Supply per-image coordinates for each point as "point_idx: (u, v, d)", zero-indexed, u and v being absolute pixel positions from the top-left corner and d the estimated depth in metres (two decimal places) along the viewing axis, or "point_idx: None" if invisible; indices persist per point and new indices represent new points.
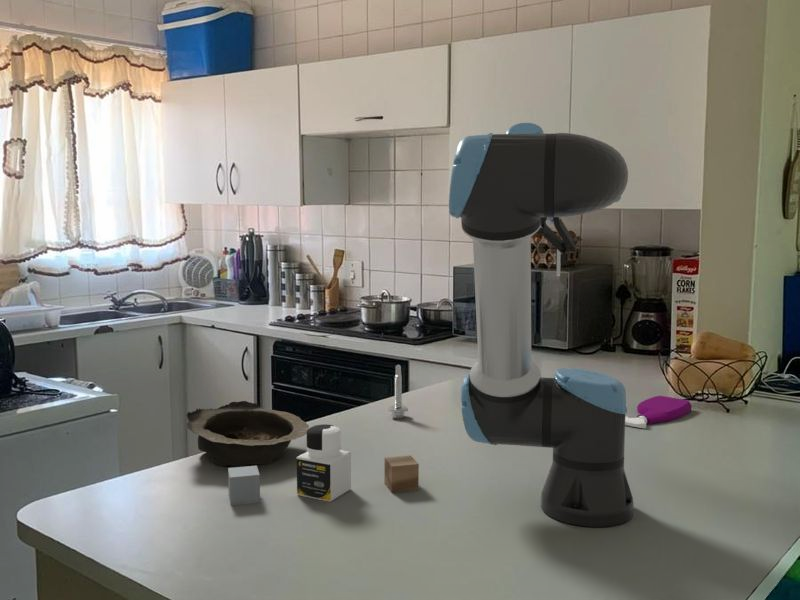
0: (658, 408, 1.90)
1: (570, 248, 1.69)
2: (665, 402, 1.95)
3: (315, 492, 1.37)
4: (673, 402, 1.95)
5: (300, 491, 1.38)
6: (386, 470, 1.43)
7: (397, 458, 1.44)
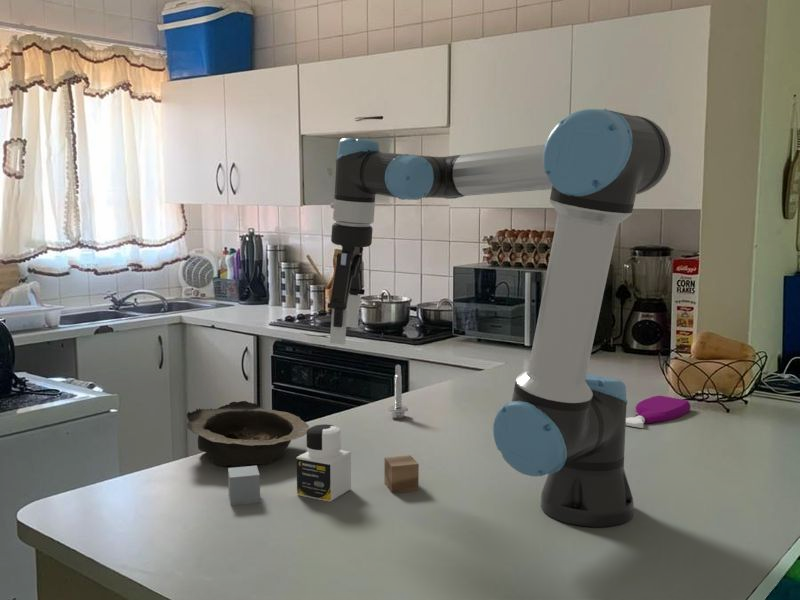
0: (656, 408, 1.90)
1: (362, 286, 1.56)
2: (664, 402, 1.95)
3: (315, 492, 1.37)
4: (671, 402, 1.95)
5: (300, 491, 1.38)
6: (386, 470, 1.43)
7: (397, 458, 1.44)
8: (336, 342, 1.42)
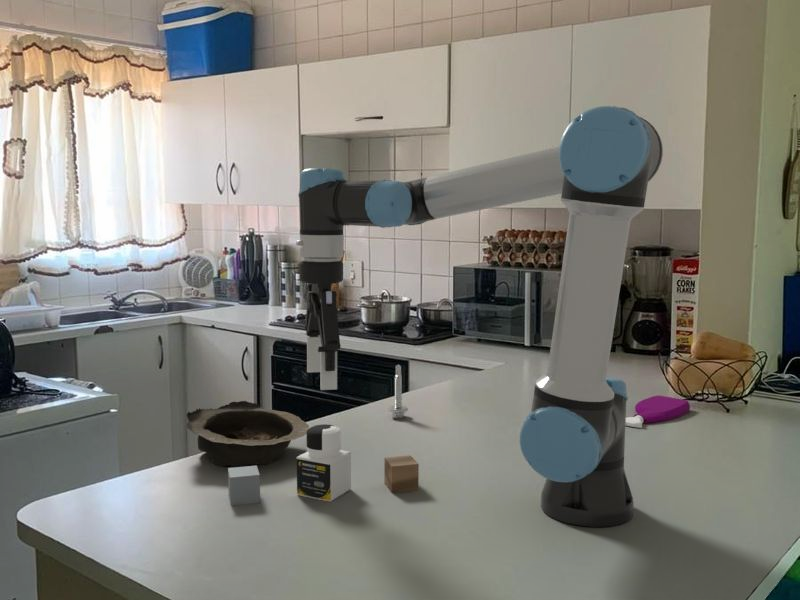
0: (655, 408, 1.90)
1: None
2: (663, 401, 1.95)
3: (315, 492, 1.37)
4: (671, 401, 1.95)
5: (300, 491, 1.38)
6: (386, 470, 1.43)
7: (397, 458, 1.44)
8: (328, 388, 1.31)
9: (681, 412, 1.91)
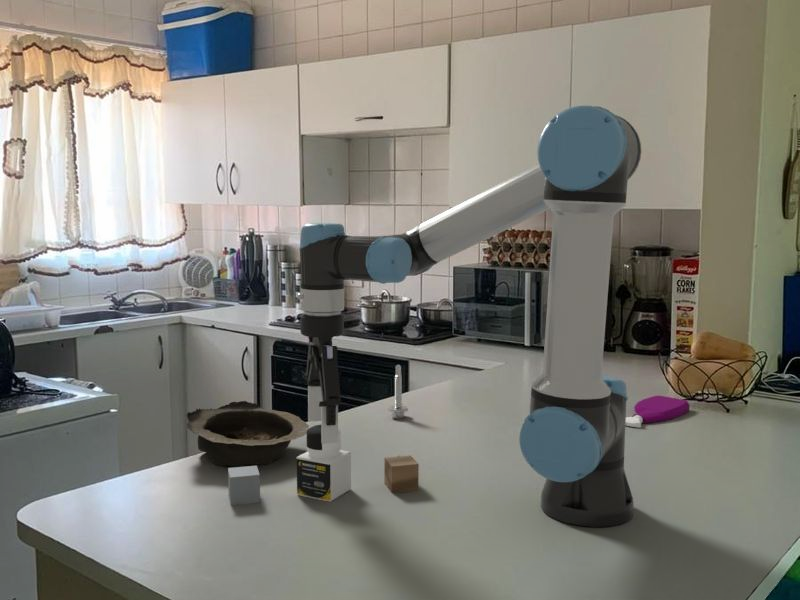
0: (655, 408, 1.90)
1: None
2: (663, 402, 1.95)
3: (315, 492, 1.37)
4: (670, 401, 1.95)
5: (300, 491, 1.38)
6: (386, 470, 1.43)
7: (397, 458, 1.44)
8: (329, 441, 1.32)
9: (680, 412, 1.91)
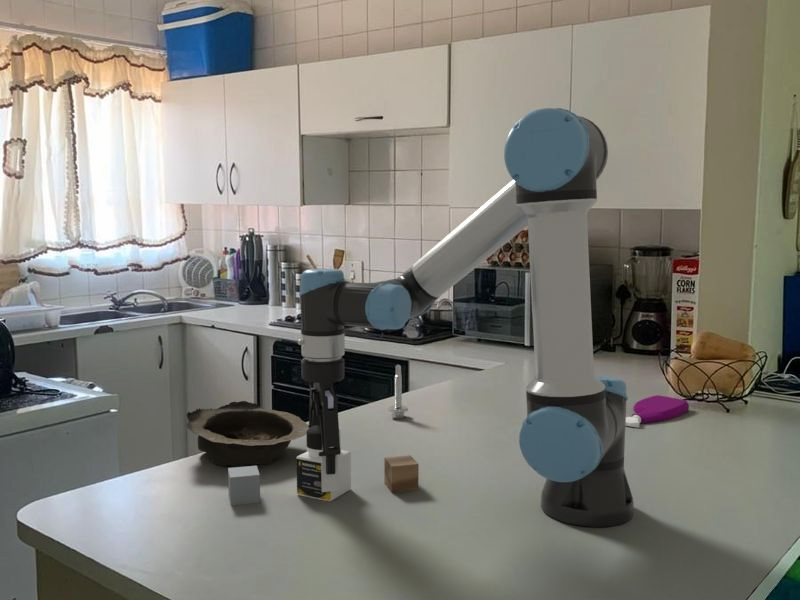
0: (654, 408, 1.90)
1: None
2: (662, 401, 1.95)
3: (315, 491, 1.37)
4: (670, 401, 1.95)
5: (300, 491, 1.38)
6: (386, 470, 1.43)
7: (397, 458, 1.44)
8: (329, 490, 1.34)
9: (679, 412, 1.91)
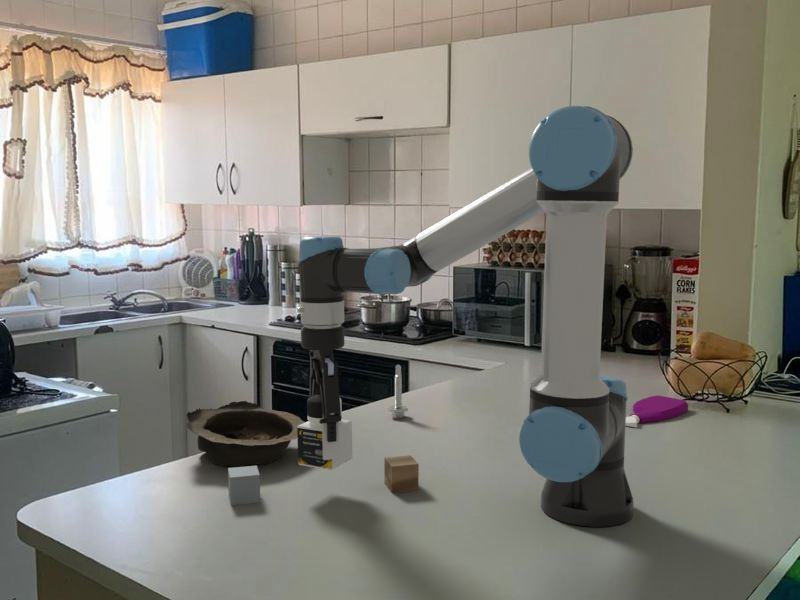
0: (652, 408, 1.90)
1: None
2: (661, 401, 1.95)
3: (316, 460, 1.36)
4: (669, 401, 1.95)
5: (301, 460, 1.37)
6: (386, 470, 1.43)
7: (397, 458, 1.44)
8: (330, 458, 1.34)
9: (678, 412, 1.91)
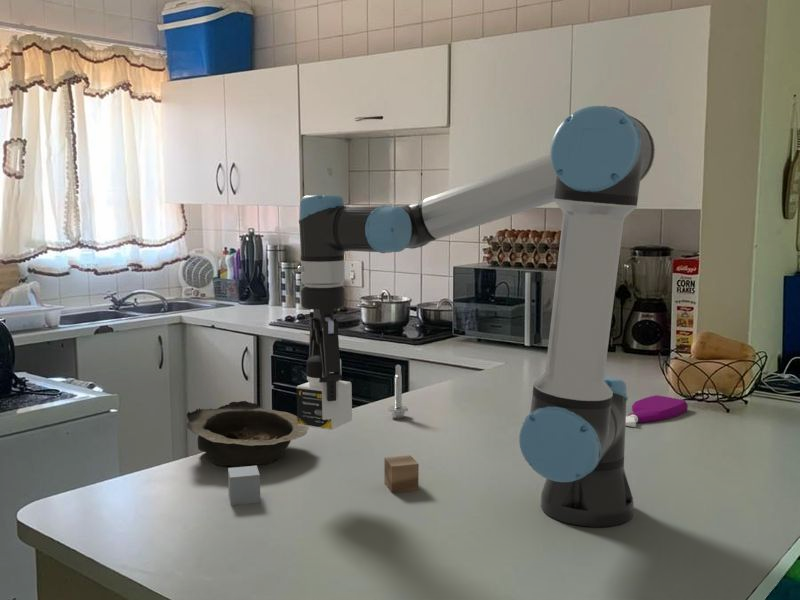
0: (651, 407, 1.90)
1: None
2: (661, 401, 1.95)
3: (315, 420, 1.35)
4: (668, 401, 1.95)
5: (300, 421, 1.37)
6: (386, 470, 1.43)
7: (397, 458, 1.44)
8: (330, 417, 1.33)
9: (677, 412, 1.91)
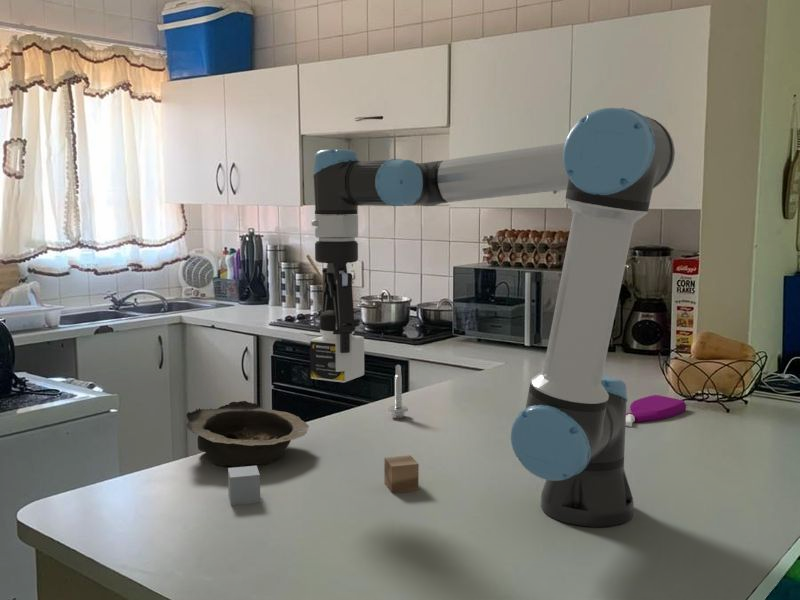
0: (649, 407, 1.90)
1: None
2: (659, 401, 1.96)
3: (328, 373, 1.37)
4: (667, 401, 1.95)
5: (313, 374, 1.38)
6: (386, 470, 1.43)
7: (397, 458, 1.44)
8: (343, 369, 1.35)
9: (675, 412, 1.91)
